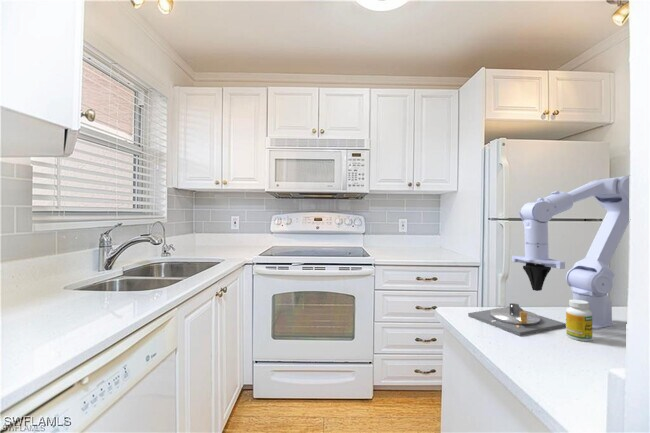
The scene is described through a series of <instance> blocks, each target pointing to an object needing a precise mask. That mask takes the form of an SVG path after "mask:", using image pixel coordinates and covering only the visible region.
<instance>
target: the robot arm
mask: <svg viewBox="0 0 650 433" xmlns="http://www.w3.org/2000/svg"><path fill="white" fill-rule="evenodd" d="M629 176H630V175H624V176H618V177H617V176H615V177H610V178H597V179H595V180H591V181H588V182H587V183H586V184H584V185H581V186H579V187H576V188H575V189H573V190H570V191H568V192H566V191H559V190H555V191H552V192H550V195H548V196H545V197H539V198H537V199H536V201H535V202H533V201H532V202H527V203H525V204H523V206H522V207H521V209H520V211H519V212H518V215H519V218H520V219H521V220H522V224H523V226H524V227H523V228H524V231H523V232H524V255H517V254H515V255H511V262H512V263H521V264H525V265H522V269H523V271H524V272H525V273H526V276H527V277H528V279H529V283H530V285H531V286H530V287H531V288H532V291H536V292H538V291H542V289H543V286H544V283H545V281H546V278H547V276H548V274H549V272H550V271H551V270H552V269H553V268H554V269H557V270H563V269H564V270H565V269H566V261H564V260H557V259H552V258H549V222H550V221H551V220H552V219H553V217H554V216H556V215H559V214H561V213H564V212H566V211H569V210H571V209H572V208H573V206H574V203H577V202H579V201H582V200H586V199H588V198H592V197H593V198H594V199H595V200H596V201H597V202H598V204H599V205H600V206H601V207H602V208H603V209H605V210H606V214H605V217H604V218H603V220H602V222H601V225H600V226H599V229H598V230H597V232H596V234H595V237H594V239H593V240H592V243H591V244H590V246H589V250H588V251H587V253H586V256H585V257H584V258H582V259H580V260H578V261H576V262H575V263H574V264H573V266H572V268H570V269H569V270H568V271H566V272H567V273H566V275H565V282H566V284H567V285H568V286H569V287H570V291H572V299H576V300H583V301H587V302H588V303H589V307H588V308H587V309H588V310H590V311H591V312H592V330H593V329H595V330H597V329H602V328H606V327H610V326H615V325H616V324H617V323H616V322H614V321H613V308H612V307H613V303H612V300H611V298H610V297H609V295H608V294H609V293H610V292H611V290H612V288H613V279H614V277H615V274H616V273H615V272H614V271H613V270H612V269H611V268H610V266H609V265H610V263H611V261H612V258H613V257H614V255H615V253H616V250H617V248H618V246H619V244H620V243H621V240H622V238H623V235H624V233H625V232H626V230H627V227H628V225H629V223H630V221H629Z"/></svg>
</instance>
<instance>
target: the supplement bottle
mask: <svg viewBox="0 0 650 433" xmlns="http://www.w3.org/2000/svg"><path fill="white" fill-rule="evenodd" d="M568 305H569V307H567V308H566V310H565V318H566V319H565V321H566V322H565V323H566V327H565V328H566V329H565V330H566V331H565V332H566V336H567V337H568V338H569V339H572V340H576V341H578V342H592V340H593V328H592V312H591V311H590V310H588V309H587V308H588V307H589V303H588V302H587V301H583V300H576V299H573V298H572V299H569V301H568Z"/></svg>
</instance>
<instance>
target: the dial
mask: <svg viewBox="0 0 650 433" xmlns="http://www.w3.org/2000/svg"><path fill="white" fill-rule="evenodd" d="M509 307H510V308H504V307H498V308H492V310H491V309H490V310H491V311H490V316H491V317H492V318H494V319H496V320H498V321H501V322H505V323H510V324H516V325H535V324H538V323H540V317H539V316H540V315H539V314H536V312H535V313H534V312H531V311H529V310H524V309H522V308H521V306H520V305H519V303H509ZM538 315H539V316H538Z"/></svg>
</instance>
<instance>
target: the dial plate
mask: <svg viewBox="0 0 650 433" xmlns="http://www.w3.org/2000/svg"><path fill="white" fill-rule="evenodd" d="M503 308H510V306H505V307H503ZM492 309H493V308H492ZM492 309H485V310H481V311H480V310H479V311H472V312H468V314H467V315H468V317H470V318H472V319H474V320H478V321H479V322H482V323H485V324H488V325H490V326H493V327H495V328H498V329H500V330H503V331H506V332H508V333H511V334H513V335H516V336H519V337H523V336H528V335H533V334H537V333H543V332H547V331H548V332H549V331H552V330H557V329H562V328H566V322H562V321H559V320H555V319H552V318H549V317H546V316H543V315H539V314H537V315H538V316H539V317H540V323H538V324H535V325H516V324H510V323H505V322H501V321H498V320H496V319H494V318H492V317H491V316H490V311H491V310H492Z"/></svg>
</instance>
